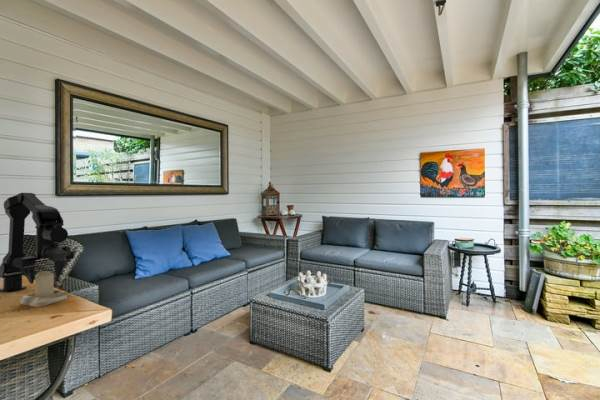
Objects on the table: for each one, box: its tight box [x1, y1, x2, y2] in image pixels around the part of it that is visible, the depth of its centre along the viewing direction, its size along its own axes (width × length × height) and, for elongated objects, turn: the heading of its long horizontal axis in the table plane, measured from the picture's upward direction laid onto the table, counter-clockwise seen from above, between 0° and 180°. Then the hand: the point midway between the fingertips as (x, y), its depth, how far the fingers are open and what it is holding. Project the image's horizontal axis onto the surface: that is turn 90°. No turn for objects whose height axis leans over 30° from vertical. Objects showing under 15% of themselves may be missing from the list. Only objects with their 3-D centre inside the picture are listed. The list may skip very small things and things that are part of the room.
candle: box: [34, 270, 55, 298], centre depth 118 cm, size 6×6×10 cm
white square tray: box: [20, 289, 68, 308], centre depth 118 cm, size 10×10×3 cm
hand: (45, 280), depth 118 cm, fingers open, 9 cm apart
